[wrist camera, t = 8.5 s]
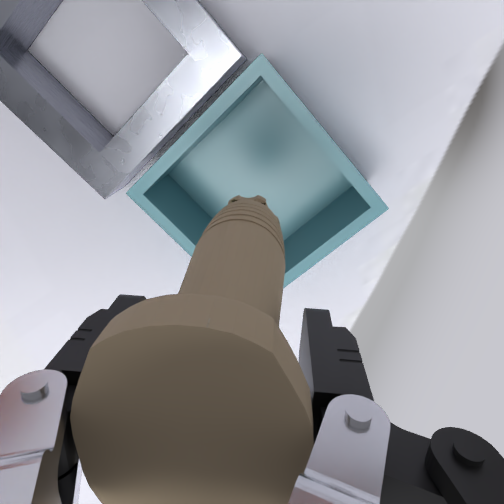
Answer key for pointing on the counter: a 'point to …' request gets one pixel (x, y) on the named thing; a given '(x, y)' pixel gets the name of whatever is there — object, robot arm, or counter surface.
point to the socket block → (81, 121)
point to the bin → (260, 172)
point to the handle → (200, 381)
